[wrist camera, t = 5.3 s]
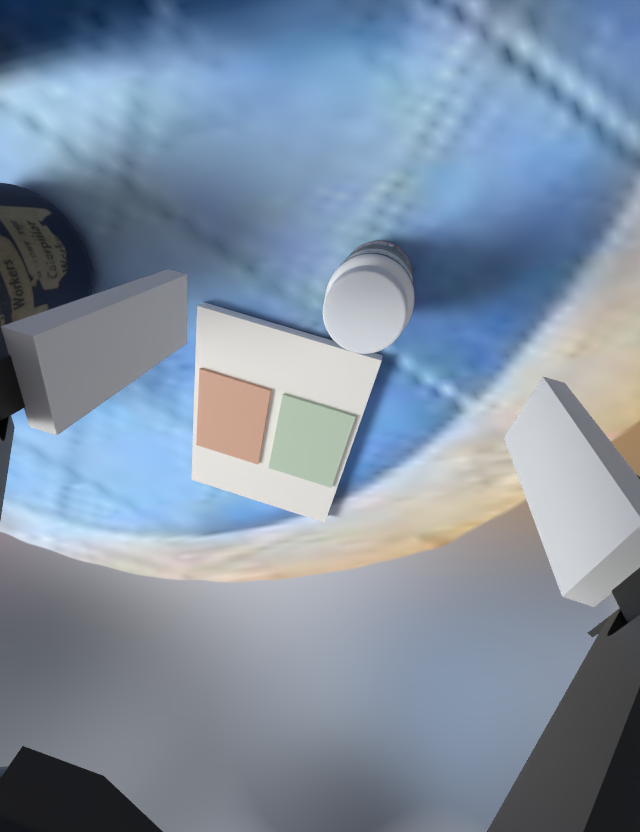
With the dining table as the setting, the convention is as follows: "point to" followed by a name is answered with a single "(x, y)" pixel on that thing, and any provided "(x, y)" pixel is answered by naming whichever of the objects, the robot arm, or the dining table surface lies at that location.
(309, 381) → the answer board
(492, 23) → the dining table surface
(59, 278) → the canister
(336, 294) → the pill bottle
